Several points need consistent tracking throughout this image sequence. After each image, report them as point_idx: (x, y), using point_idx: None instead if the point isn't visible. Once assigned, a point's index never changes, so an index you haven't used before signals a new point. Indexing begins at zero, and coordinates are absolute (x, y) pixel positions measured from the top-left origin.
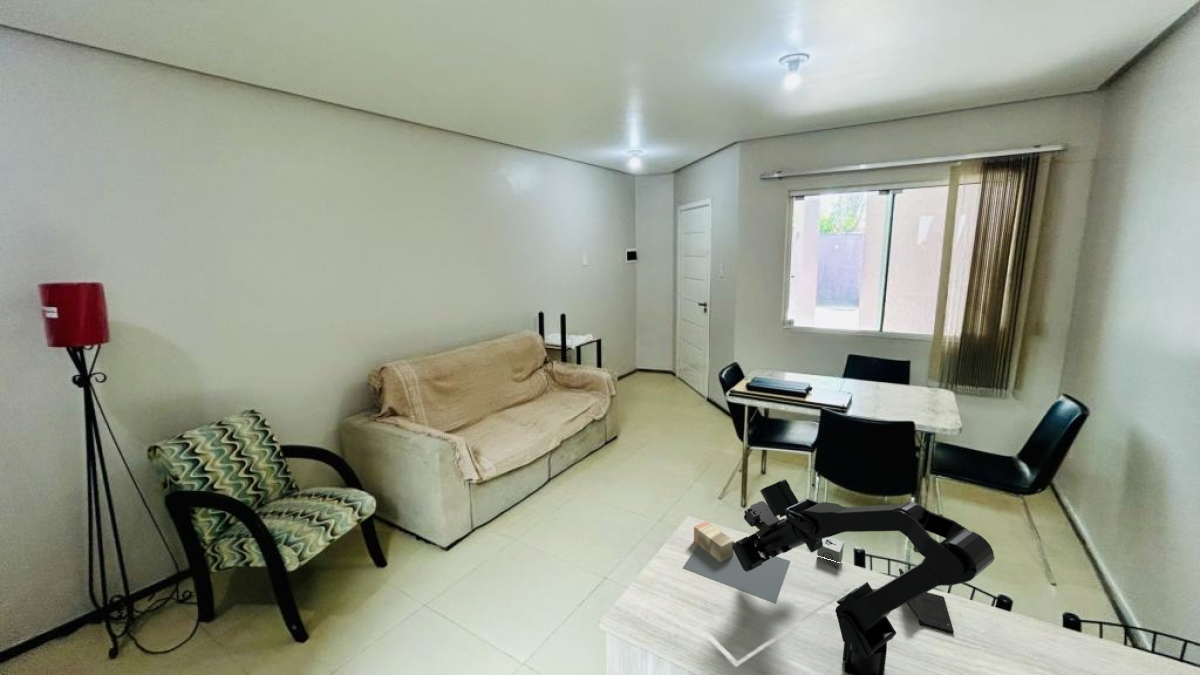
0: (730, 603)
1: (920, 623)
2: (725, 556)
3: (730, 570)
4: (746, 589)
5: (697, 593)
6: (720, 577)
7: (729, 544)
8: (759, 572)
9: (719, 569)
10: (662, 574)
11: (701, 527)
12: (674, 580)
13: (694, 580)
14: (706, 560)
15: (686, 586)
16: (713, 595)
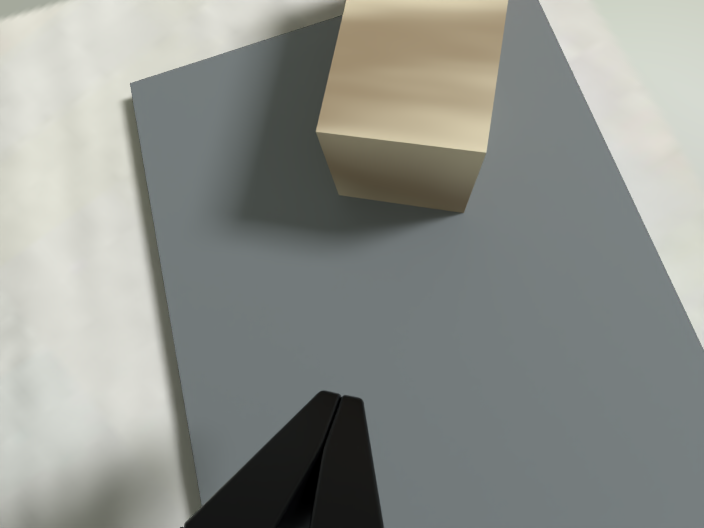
0: (84, 447)
1: None
2: (384, 191)
3: (315, 288)
4: (223, 477)
5: (40, 259)
6: (209, 281)
7: (425, 155)
8: (453, 453)
9: (270, 233)
10: (53, 50)
11: None
12: (52, 116)
13: (118, 184)
14: (285, 128)
15: (51, 185)
16: (81, 332)
